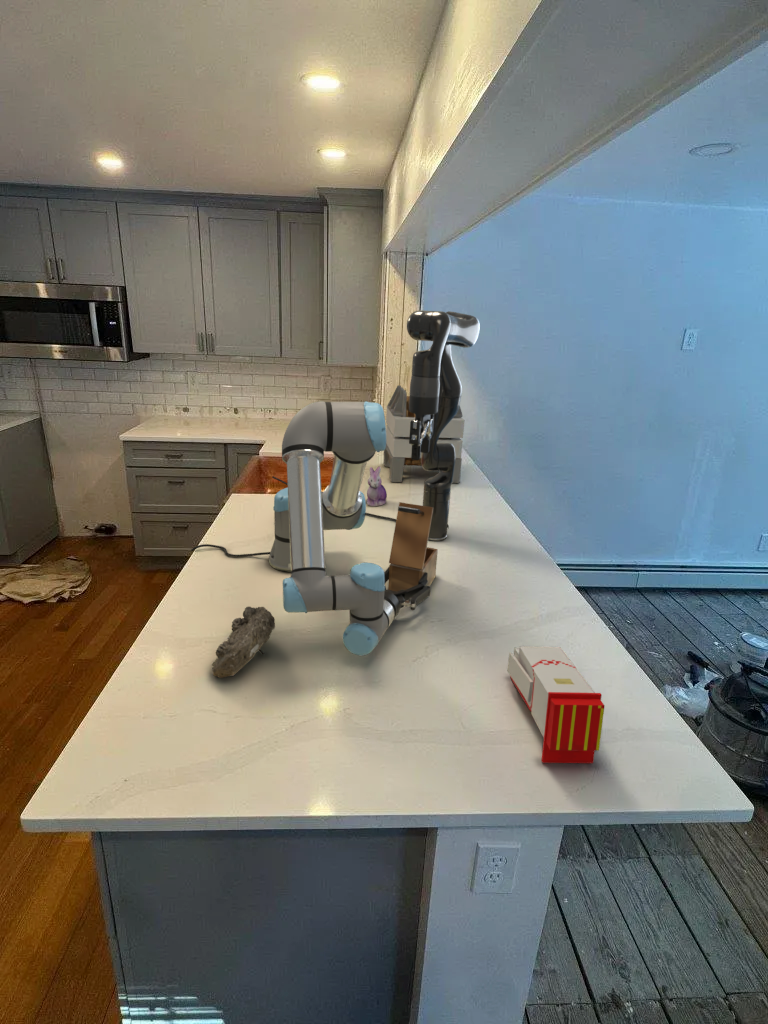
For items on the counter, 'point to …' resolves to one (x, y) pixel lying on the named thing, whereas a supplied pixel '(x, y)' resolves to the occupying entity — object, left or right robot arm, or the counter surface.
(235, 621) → the fossil
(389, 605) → the left robot arm
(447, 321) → the right robot arm
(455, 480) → the transformer
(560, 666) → the toy
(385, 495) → the figurine
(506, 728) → the counter surface
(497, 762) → the counter surface
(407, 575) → the chest
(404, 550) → the lid
